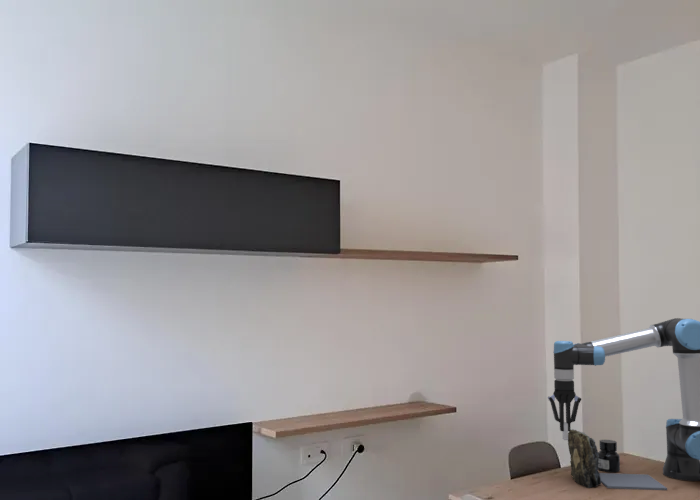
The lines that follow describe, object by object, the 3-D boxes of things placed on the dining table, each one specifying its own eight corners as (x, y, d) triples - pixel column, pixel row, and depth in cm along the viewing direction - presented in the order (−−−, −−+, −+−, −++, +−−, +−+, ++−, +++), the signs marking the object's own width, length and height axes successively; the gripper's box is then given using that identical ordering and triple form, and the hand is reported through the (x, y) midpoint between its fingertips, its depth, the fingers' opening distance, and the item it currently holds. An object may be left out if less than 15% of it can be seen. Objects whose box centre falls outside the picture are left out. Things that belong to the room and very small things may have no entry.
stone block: (606, 487, 244) (605, 434, 245) (585, 488, 242) (584, 435, 243) (579, 474, 262) (578, 425, 263) (560, 475, 260) (559, 426, 261)
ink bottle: (593, 467, 274) (593, 438, 275) (613, 467, 274) (613, 438, 275) (603, 473, 264) (602, 443, 265) (624, 473, 265) (623, 443, 265)
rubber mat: (648, 476, 260) (648, 474, 260) (667, 490, 241) (667, 488, 241) (592, 474, 262) (592, 472, 262) (607, 488, 243) (607, 486, 243)
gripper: (578, 378, 259) (579, 437, 257) (545, 378, 260) (546, 437, 258) (583, 381, 251) (584, 441, 249) (549, 380, 252) (550, 441, 250)
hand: (565, 439), depth 254 cm, fingers closed
